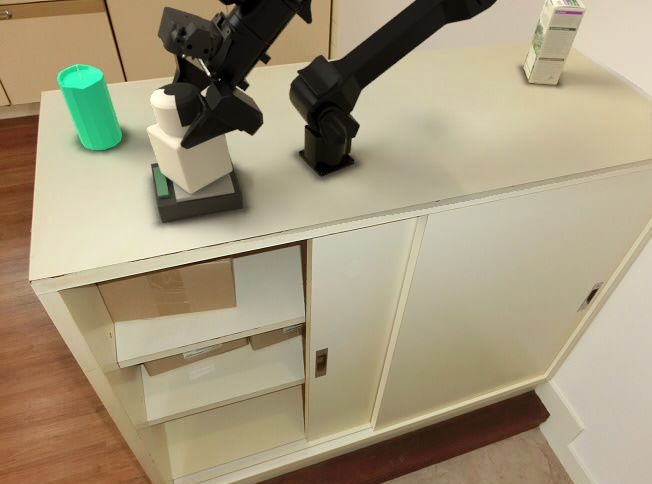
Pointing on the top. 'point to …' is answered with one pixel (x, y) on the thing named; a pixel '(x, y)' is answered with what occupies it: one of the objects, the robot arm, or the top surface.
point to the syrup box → (553, 40)
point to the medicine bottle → (166, 135)
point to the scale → (195, 196)
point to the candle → (90, 106)
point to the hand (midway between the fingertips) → (174, 129)
